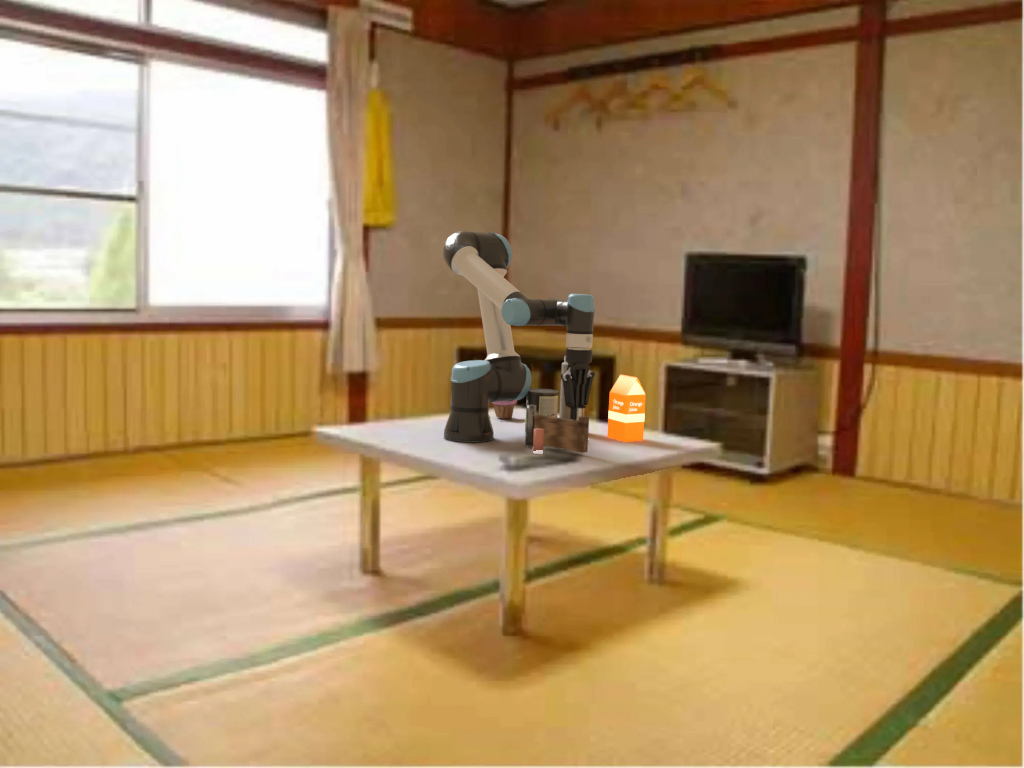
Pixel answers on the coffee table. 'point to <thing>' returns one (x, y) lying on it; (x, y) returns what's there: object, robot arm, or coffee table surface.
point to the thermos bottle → (563, 408)
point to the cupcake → (504, 409)
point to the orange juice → (626, 410)
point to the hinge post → (530, 424)
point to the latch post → (538, 439)
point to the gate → (564, 432)
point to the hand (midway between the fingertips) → (575, 430)
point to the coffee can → (543, 402)
